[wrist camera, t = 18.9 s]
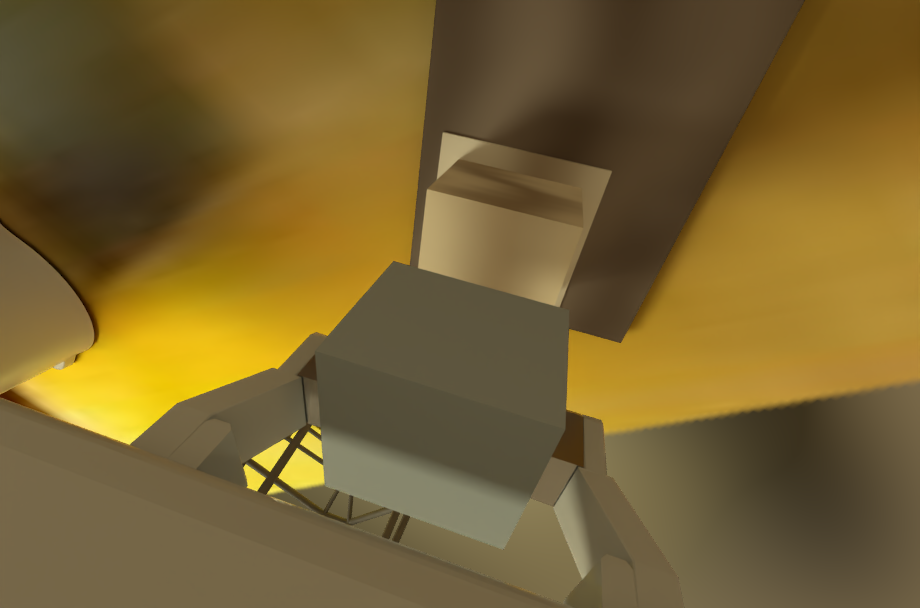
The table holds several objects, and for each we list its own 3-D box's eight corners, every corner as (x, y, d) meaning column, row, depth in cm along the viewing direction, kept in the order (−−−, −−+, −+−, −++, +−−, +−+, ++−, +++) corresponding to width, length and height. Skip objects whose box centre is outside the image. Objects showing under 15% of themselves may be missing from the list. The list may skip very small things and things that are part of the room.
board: (413, 275, 24) (407, 284, 24) (479, -331, 12) (471, -363, 11) (619, 332, 23) (621, 344, 22) (943, -287, 10) (979, -321, 9)
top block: (385, 383, 14) (325, 485, 10) (393, 261, 11) (314, 350, 8) (521, 426, 13) (503, 549, 10) (569, 310, 10) (565, 429, 7)
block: (442, 265, 22) (412, 313, 18) (458, 158, 19) (426, 188, 15) (544, 293, 22) (537, 349, 17) (581, 188, 18) (583, 228, 14)
